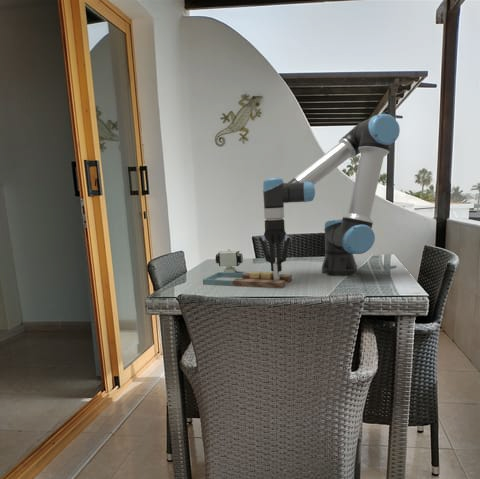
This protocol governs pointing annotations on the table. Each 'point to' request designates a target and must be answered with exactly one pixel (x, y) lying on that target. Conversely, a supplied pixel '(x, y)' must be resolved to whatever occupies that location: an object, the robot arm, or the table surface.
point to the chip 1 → (255, 275)
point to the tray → (211, 280)
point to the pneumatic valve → (229, 260)
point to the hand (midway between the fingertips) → (276, 279)
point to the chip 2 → (267, 276)
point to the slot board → (262, 281)
